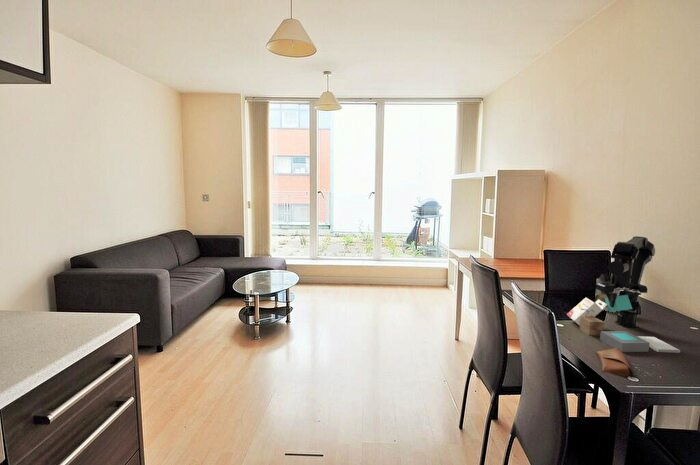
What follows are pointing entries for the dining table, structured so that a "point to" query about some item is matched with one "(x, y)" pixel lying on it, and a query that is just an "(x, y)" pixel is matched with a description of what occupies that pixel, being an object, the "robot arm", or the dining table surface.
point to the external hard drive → (659, 345)
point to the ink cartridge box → (586, 309)
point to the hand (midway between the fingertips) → (619, 307)
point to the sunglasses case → (614, 362)
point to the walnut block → (591, 325)
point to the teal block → (619, 303)
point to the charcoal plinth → (624, 341)
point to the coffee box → (603, 294)
